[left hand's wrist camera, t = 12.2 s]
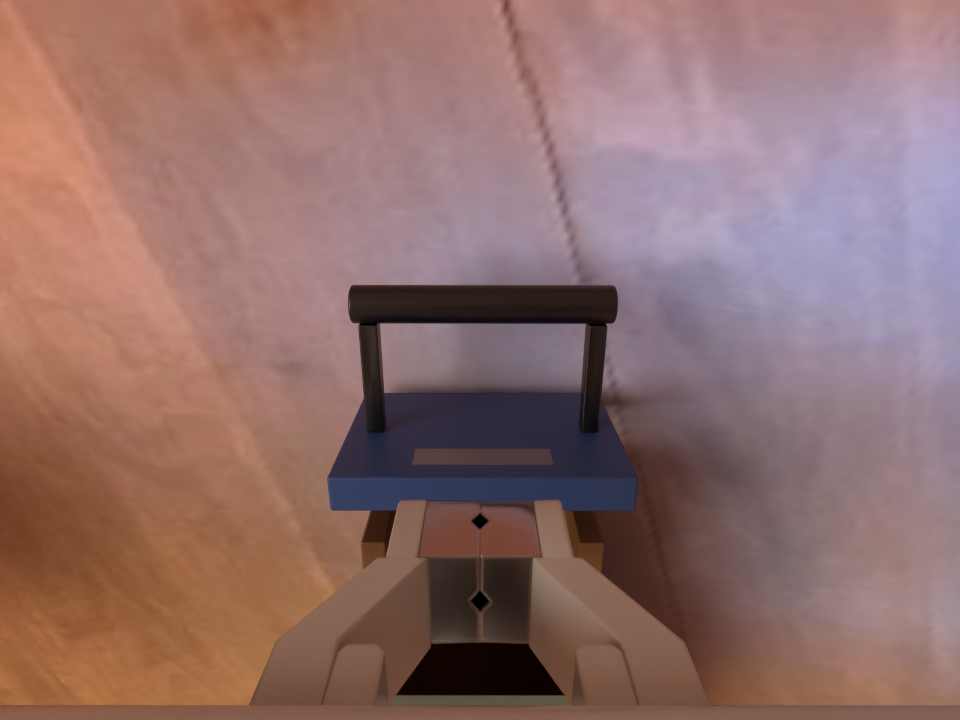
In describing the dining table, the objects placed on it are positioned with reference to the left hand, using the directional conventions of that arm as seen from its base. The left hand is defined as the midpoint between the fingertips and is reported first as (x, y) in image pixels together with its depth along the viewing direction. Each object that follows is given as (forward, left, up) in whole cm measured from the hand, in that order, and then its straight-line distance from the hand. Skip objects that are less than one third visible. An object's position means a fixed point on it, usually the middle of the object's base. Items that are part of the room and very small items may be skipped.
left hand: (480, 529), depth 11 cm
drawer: (+9, +3, -12) cm, 15 cm away
